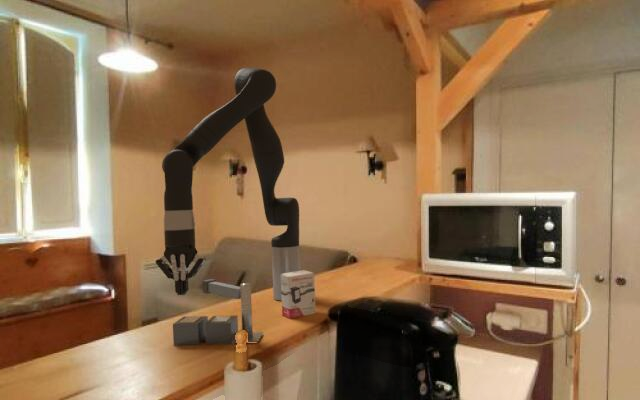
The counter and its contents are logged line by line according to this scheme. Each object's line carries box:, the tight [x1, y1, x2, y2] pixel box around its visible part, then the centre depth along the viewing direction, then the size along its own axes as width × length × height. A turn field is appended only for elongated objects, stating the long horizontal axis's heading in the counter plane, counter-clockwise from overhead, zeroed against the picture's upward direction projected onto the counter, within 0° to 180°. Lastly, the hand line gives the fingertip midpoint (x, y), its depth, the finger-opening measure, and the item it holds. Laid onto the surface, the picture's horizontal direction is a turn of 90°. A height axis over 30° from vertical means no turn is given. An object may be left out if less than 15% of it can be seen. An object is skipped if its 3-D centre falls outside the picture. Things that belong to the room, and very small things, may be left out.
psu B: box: [172, 315, 209, 346], centre depth 96 cm, size 6×6×5 cm
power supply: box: [205, 314, 239, 346], centre depth 96 cm, size 6×6×5 cm
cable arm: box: [202, 278, 241, 300], centre depth 102 cm, size 16×3×3 cm, turn 45°
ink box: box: [281, 269, 316, 319], centre depth 115 cm, size 8×5×12 cm, turn 123°
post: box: [231, 282, 264, 345], centre depth 96 cm, size 6×6×13 cm
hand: (182, 294), depth 106 cm, fingers closed
